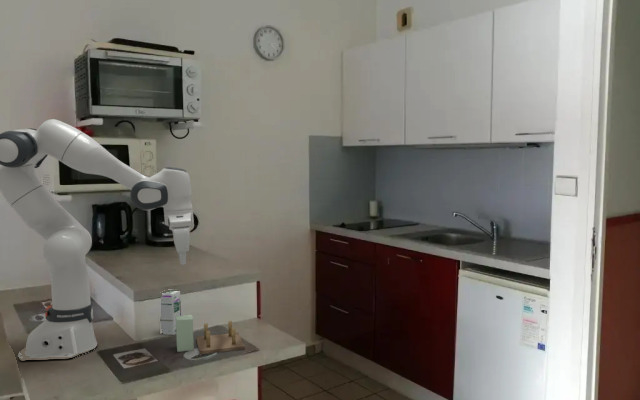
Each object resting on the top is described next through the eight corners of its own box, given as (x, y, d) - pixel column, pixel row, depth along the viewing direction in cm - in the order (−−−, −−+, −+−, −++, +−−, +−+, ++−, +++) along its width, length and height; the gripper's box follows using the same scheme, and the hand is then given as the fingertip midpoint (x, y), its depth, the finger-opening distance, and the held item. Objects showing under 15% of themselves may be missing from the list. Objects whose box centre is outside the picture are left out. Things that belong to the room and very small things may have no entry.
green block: (177, 351, 167) (176, 320, 166) (176, 346, 172) (175, 316, 171) (193, 350, 169) (192, 319, 168) (192, 344, 173) (191, 314, 172)
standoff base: (199, 354, 165) (199, 335, 164) (196, 339, 178) (195, 322, 178) (244, 349, 169) (244, 330, 168) (238, 335, 182) (237, 318, 182)
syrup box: (174, 335, 183) (173, 293, 182) (158, 334, 184) (157, 293, 183) (182, 330, 188) (180, 289, 187) (166, 329, 189) (165, 289, 188)
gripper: (167, 215, 177) (170, 256, 178) (169, 222, 157) (173, 268, 159) (187, 214, 179) (190, 254, 180) (191, 221, 159) (194, 266, 160)
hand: (182, 261), depth 169 cm, fingers open, 8 cm apart
